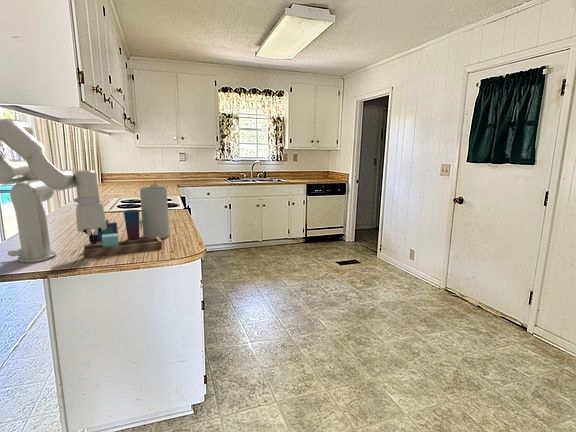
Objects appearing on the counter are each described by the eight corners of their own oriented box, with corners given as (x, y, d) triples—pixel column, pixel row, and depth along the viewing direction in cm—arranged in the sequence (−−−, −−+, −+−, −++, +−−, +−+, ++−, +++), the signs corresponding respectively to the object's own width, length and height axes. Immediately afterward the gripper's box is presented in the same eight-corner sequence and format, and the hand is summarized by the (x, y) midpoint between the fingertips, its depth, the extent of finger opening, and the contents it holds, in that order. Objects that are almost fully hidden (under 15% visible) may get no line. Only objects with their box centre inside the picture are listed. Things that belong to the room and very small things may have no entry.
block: (103, 253, 141) (101, 237, 140) (103, 250, 145) (101, 234, 144) (119, 251, 144) (117, 235, 142) (118, 248, 148) (117, 233, 147)
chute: (84, 260, 136) (82, 250, 135) (85, 253, 145) (84, 243, 144) (162, 251, 150) (161, 241, 149) (159, 245, 159) (158, 236, 158)
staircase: (160, 216, 223) (157, 178, 218) (166, 220, 214) (164, 180, 209) (147, 218, 218) (145, 179, 213) (153, 221, 209) (151, 180, 204)
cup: (125, 243, 161) (122, 212, 158) (127, 239, 167) (124, 209, 164) (140, 242, 163) (138, 211, 160) (142, 238, 169) (140, 209, 166)
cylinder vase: (167, 239, 169) (164, 189, 164) (141, 240, 166) (137, 190, 161) (170, 233, 181) (168, 186, 176) (145, 233, 178) (142, 186, 173)
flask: (117, 238, 168) (115, 217, 166) (119, 239, 166) (117, 218, 164) (97, 242, 162) (94, 220, 160) (99, 243, 160) (96, 221, 158)
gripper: (66, 203, 130) (72, 248, 134) (109, 200, 137) (114, 243, 141) (68, 200, 137) (74, 244, 141) (109, 198, 144) (114, 239, 148)
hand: (94, 243), depth 141 cm, fingers closed
